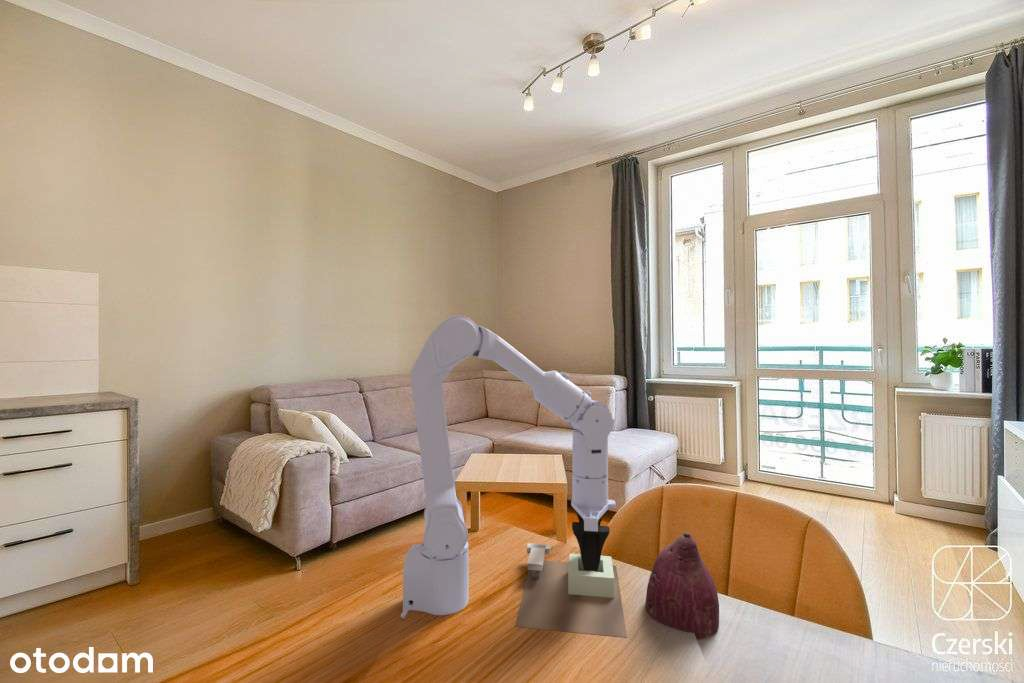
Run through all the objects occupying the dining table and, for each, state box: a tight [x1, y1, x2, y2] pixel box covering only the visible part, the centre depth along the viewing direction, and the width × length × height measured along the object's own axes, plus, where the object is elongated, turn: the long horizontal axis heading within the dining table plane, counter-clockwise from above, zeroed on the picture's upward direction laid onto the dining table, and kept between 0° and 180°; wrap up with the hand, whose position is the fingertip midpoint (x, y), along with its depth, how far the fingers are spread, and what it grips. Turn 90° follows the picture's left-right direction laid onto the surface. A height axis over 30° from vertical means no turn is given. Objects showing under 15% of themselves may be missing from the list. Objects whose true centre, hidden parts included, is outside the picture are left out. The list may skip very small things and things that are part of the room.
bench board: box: [514, 542, 628, 639], centre depth 69 cm, size 16×19×4 cm
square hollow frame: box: [568, 553, 614, 598], centre depth 71 cm, size 7×7×3 cm
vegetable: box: [645, 531, 720, 641], centre depth 63 cm, size 10×10×15 cm
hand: (590, 557), depth 71 cm, fingers open, 7 cm apart
